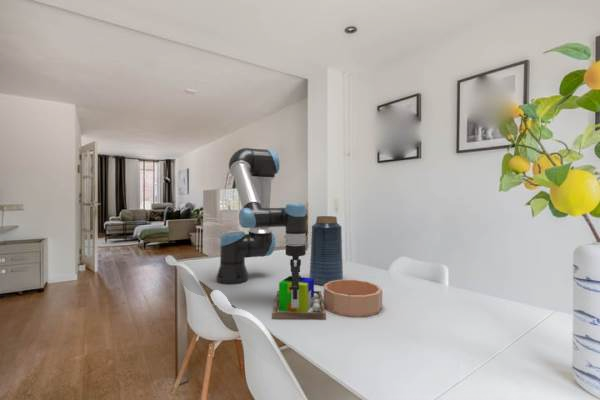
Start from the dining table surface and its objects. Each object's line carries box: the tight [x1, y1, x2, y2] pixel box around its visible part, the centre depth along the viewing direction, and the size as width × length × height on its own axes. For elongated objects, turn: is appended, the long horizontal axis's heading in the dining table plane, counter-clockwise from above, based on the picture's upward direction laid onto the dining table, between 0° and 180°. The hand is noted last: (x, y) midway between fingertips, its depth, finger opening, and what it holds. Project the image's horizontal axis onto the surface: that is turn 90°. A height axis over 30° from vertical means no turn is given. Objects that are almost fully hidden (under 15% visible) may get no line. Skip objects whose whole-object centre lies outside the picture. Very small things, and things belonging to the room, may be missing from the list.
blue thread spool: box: [308, 215, 344, 286], centre depth 146 cm, size 16×16×32 cm
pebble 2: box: [311, 303, 321, 312], centre depth 107 cm, size 3×3×3 cm
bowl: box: [323, 279, 383, 318], centre depth 113 cm, size 21×21×7 cm
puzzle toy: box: [278, 275, 315, 312], centre depth 111 cm, size 10×10×10 cm
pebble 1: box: [312, 299, 320, 304], centre depth 111 cm, size 3×3×3 cm
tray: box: [271, 290, 327, 320], centre depth 112 cm, size 24×18×2 cm
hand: (295, 301), depth 112 cm, fingers open, 13 cm apart
